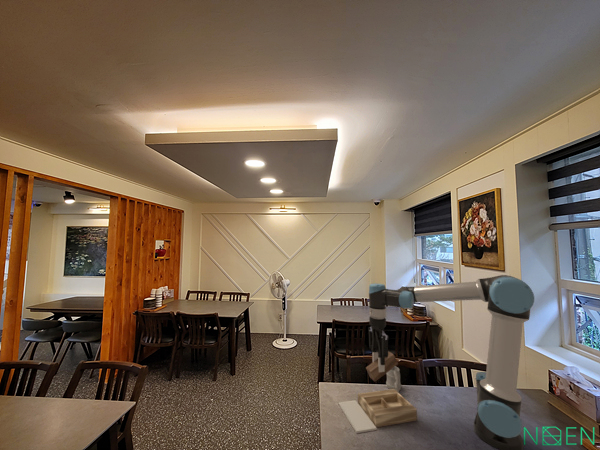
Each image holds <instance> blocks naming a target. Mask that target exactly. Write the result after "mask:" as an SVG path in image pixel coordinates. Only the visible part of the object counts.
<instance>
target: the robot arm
mask: <svg viewBox="0 0 600 450" xmlns="http://www.w3.org/2000/svg"><path fill="white" fill-rule="evenodd" d="M534 294H535V293H534V292H533V290H532V287H530V286H529V285H528V283H526V282H525V281H524V280H522V279H521V278H517V277H514V276H511V275H505V274H504V275H503V274H502V275H497V276H491V277H486V278H484V277H483V278H478V279H477V280H476V281H469V282H468V281H467V282H466V281H465V282H454V283H453V282H452V283H444V284H443V283H441V284H426V285H417V286H416V285H415V286H407V285H406V286H402V287H400V288H397V289H389V288H386V285H385V284H383V283H370V284H369V287H368V299H369V300H368V302H369V304H368V306H369V311H368V312H369V318H368V319H369V321H368V322H369V326H368V327H367V330H368V346H369V350H371V355H372V363H373V362H374V361H376V360H377V359H378V368H379V372H385V358H386V357H388V351H389V338H390V336H389V335H388V334H386V331H385V328H386V326H387V318H386V317H387V307H395V308H401V309H404V310H405V309H409V310H410V309H413V307H414V303H431V302H455V301H479V300H480V301H482V302H484V303H487V308H486V309H487V311H488V312H489V313H490V314H491V321H490V332H489V341H488V342H489V343H488V351H487V360H486V361H487V362H486V371H478V372H477V373H476V374H475V383H476V385H475V386H476V399H477V401H476V402H477V407H476V410H477V412H476V415H475V417H474V421H473V430H474V433H475V434H476V436H477V437H478V438H479V439H481V440H482V441H483V442H484V443H486V444H488V445H489V446H491V447H494V448H496V449H498V450H524V442H523V441H524V440H523V438H522V436H521V433H522V430H523V421H522V418H521V410H522V396H521V395H520V394H519V392H518V391H517V385H518V376H519V366H520V357H521V349H522V348H521V346H522V345H521V344H522V337H523V336H522V335H523V324H524V323H525V322H527V321H529V320H530V316H531V309H532V307H533V306H534V303H535V295H534ZM386 306H387V307H386Z"/></svg>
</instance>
